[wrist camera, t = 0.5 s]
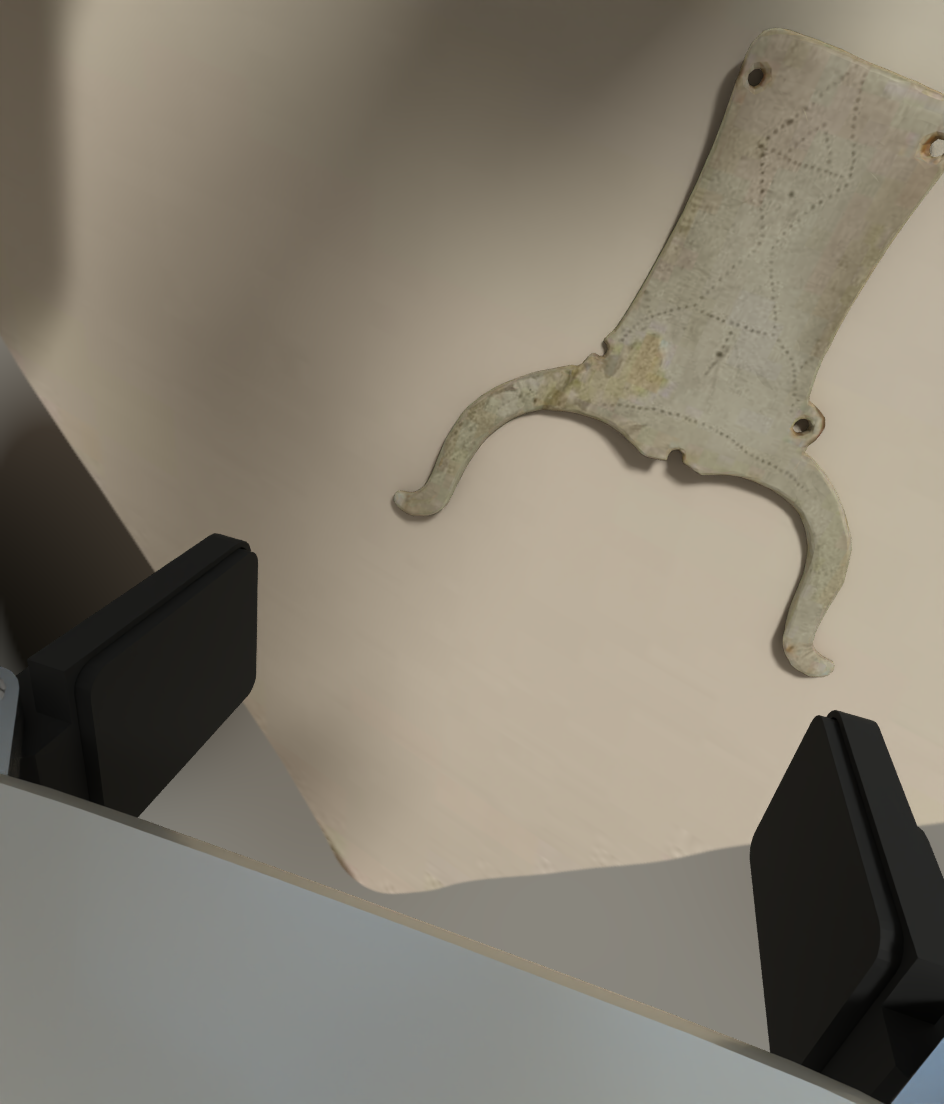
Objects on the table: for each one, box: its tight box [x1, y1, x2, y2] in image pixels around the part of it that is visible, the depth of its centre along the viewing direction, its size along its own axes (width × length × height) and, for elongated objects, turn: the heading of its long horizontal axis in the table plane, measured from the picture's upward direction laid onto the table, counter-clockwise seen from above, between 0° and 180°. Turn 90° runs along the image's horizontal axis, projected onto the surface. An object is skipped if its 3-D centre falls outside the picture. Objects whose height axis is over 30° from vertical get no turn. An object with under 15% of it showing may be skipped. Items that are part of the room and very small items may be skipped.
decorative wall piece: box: [394, 28, 944, 677], centre depth 38 cm, size 30×3×30 cm
